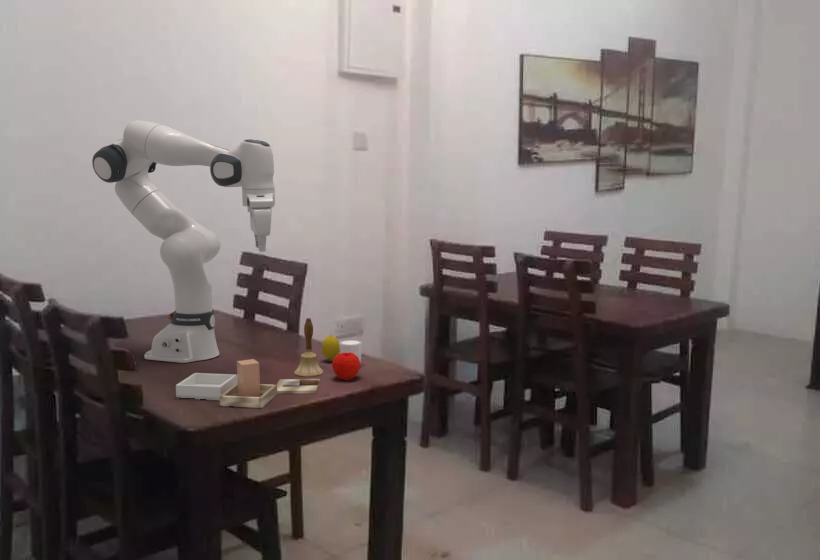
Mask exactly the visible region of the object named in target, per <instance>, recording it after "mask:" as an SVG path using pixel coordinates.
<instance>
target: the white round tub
mask: <svg viewBox="0 0 820 560" xmlns="http://www.w3.org/2000/svg"><path fill="white" fill-rule="evenodd" d="M339 348H340V353H353V354H355V355H356V356H357V357H358V358H359V360H360V366H361V365H362V351H363V342H362V341H361V340H355V339H350V340H348V339H347V340H346V339H345V340H342V341H339ZM340 353H339V354H340Z"/></svg>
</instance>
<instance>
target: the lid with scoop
mask: <svg viewBox="0 0 820 560" xmlns="http://www.w3.org/2000/svg"><path fill="white" fill-rule="evenodd" d="M278 379H279V378H278ZM320 381H321V379H320V378H303V379H301V378H293V379H291V378H288V379H287V378H286V379H285V378H283V379H282V378H281V379H279V380H278V382H276V385H277V395H279V394H282V395H283V394H285V395H291V394H294V395H295V394H300V395H301V394H304V395H305V394H308V395H309V394H311V395H312V394H317V391H318V389H319V385H320V383H321V382H320Z"/></svg>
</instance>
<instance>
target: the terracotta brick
mask: <svg viewBox="0 0 820 560" xmlns="http://www.w3.org/2000/svg"><path fill="white" fill-rule="evenodd" d="M236 373H237V374H236V375H237V383H238V394H237V396H243V397H261V394H260V384H261V380H260V379H261V378H260V376H261V375H260V373H261V372H260V362H258V361H257V360H256V359H255V358H251V359H243V360H236Z"/></svg>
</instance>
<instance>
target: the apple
mask: <svg viewBox="0 0 820 560" xmlns="http://www.w3.org/2000/svg"><path fill="white" fill-rule="evenodd" d="M331 362H332V364H331V368H332V371H333V372H334V374H335V375H336V377H338V379H340V380H343V381H349V380H353V379H354V378H355V377H356V376H357V375H358V373H359V371H360V369H361V365H360V360H359V358H358V357H357V356H356V355H355V354H353V353H339V354H338V355H337V356H336V357H335V358H334V359H333V361H331Z"/></svg>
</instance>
